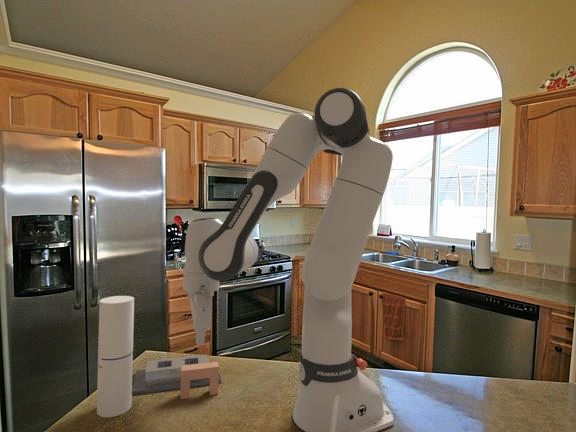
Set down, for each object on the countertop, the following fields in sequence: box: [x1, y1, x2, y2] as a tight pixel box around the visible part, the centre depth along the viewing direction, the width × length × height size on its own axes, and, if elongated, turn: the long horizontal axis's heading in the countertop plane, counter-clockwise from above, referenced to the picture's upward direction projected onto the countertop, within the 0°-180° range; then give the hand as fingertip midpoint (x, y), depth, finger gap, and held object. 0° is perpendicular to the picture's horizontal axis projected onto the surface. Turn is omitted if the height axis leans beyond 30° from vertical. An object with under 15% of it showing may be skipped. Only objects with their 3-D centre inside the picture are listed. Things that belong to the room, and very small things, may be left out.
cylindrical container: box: [96, 295, 135, 418], centre depth 78 cm, size 7×7×25 cm
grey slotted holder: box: [132, 354, 222, 396], centre depth 93 cm, size 22×12×4 cm, turn 109°
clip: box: [179, 361, 220, 400], centre depth 85 cm, size 9×3×7 cm, turn 109°
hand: (198, 337), depth 86 cm, fingers open, 8 cm apart
